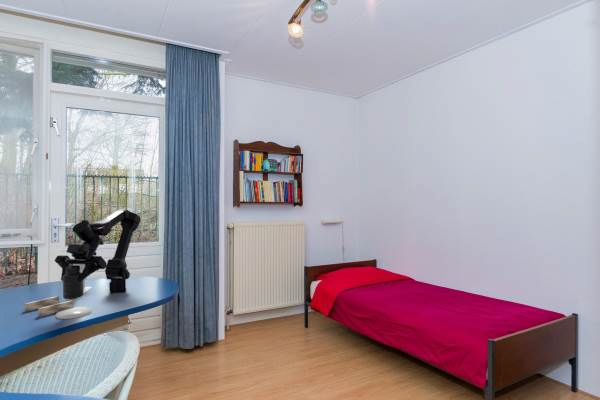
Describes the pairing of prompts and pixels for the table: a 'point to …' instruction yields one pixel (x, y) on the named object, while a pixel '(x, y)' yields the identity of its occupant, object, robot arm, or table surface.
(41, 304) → the channel
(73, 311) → the pad
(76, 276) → the supplement bottle
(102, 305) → the table surface
